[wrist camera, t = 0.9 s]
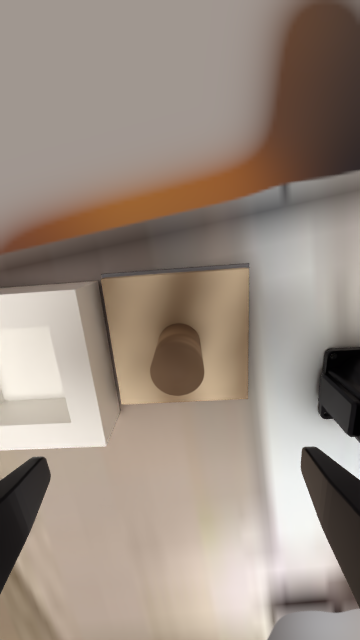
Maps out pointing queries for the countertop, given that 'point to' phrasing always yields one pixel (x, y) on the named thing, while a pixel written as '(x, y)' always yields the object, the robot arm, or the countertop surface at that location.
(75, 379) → the dish
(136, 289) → the lid
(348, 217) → the countertop surface
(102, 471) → the countertop surface
